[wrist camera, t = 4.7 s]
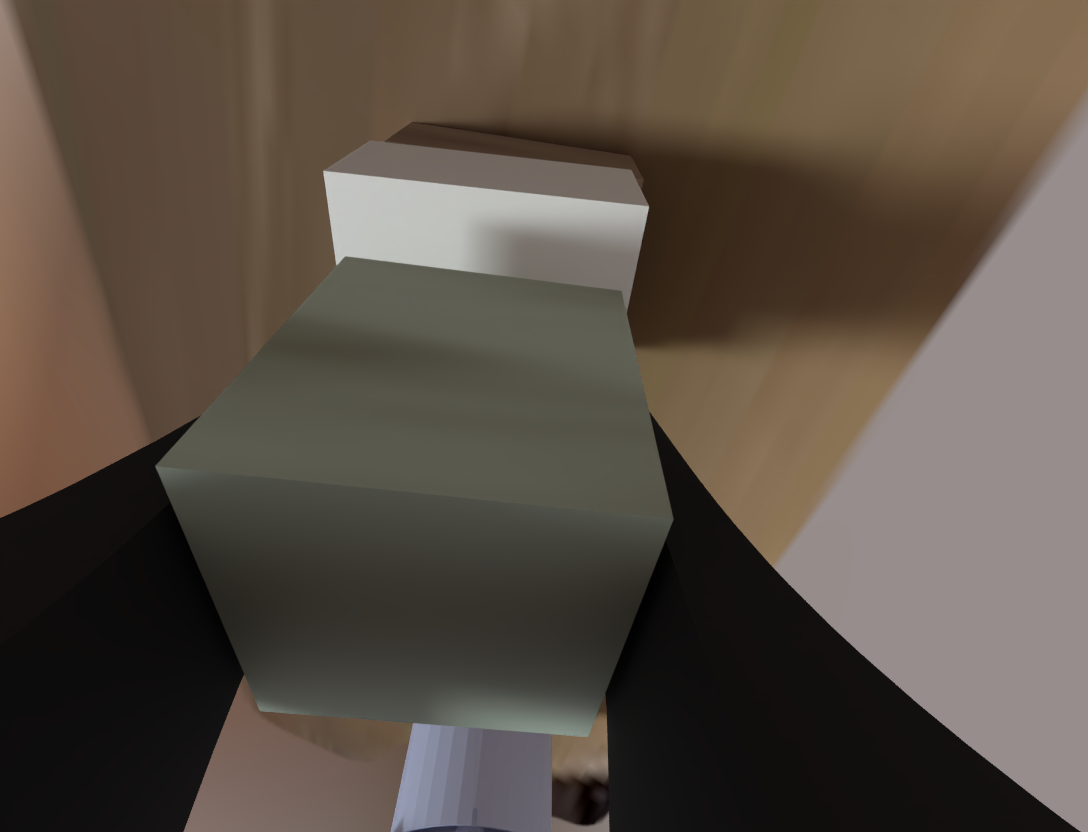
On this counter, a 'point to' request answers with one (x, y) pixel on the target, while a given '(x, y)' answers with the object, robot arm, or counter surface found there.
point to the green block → (430, 500)
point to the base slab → (509, 147)
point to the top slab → (488, 214)
